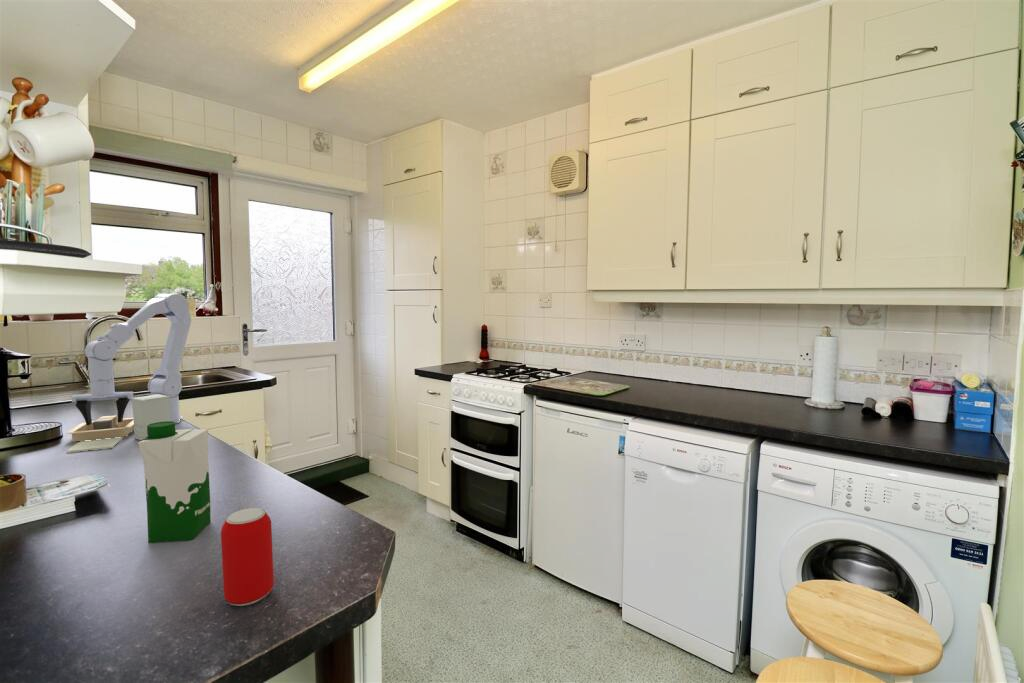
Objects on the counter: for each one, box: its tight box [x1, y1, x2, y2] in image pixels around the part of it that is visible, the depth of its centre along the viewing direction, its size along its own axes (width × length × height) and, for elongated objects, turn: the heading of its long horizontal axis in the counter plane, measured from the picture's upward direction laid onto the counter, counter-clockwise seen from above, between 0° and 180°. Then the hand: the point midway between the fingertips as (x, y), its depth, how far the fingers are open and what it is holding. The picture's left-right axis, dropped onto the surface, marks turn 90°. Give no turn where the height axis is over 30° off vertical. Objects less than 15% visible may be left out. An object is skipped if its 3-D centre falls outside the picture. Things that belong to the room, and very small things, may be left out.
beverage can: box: [220, 507, 275, 607], centre depth 68 cm, size 6×6×12 cm
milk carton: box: [137, 421, 211, 544], centre depth 87 cm, size 9×9×20 cm
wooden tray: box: [66, 417, 134, 443], centre depth 151 cm, size 15×15×3 cm
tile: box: [66, 437, 123, 454], centre depth 139 cm, size 10×10×1 cm
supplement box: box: [131, 394, 171, 441], centre depth 147 cm, size 7×7×13 cm
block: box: [93, 414, 118, 430], centre depth 151 cm, size 8×4×5 cm, turn 26°
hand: (104, 423), depth 151 cm, fingers open, 7 cm apart
